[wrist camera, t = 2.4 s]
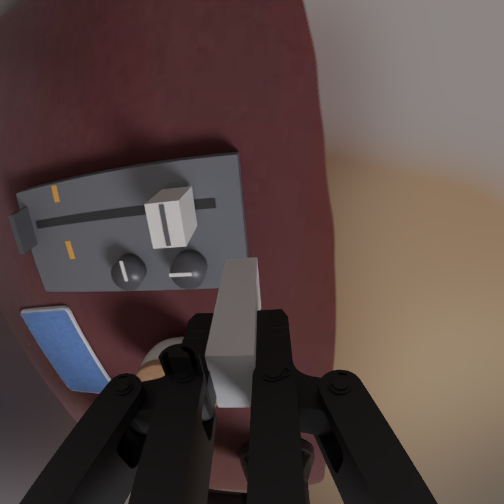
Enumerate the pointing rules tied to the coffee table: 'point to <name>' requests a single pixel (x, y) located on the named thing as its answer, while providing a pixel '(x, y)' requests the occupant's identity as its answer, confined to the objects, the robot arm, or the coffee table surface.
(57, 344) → the tablet computer
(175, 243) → the fader tab
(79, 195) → the console
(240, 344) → the robot arm
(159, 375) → the lidded jar
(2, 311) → the coffee table surface
